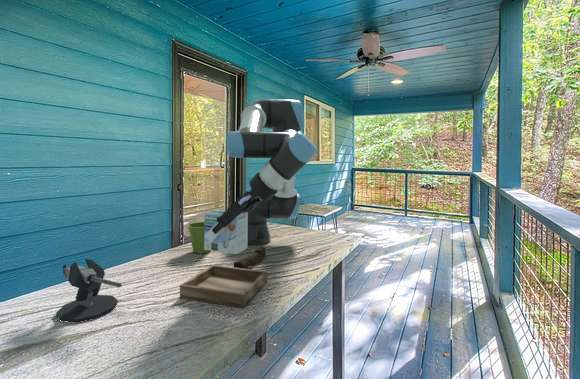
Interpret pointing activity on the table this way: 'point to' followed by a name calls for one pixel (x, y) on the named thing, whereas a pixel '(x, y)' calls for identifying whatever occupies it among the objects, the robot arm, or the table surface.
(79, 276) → the gun turret
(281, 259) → the table surface
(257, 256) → the rusty artillery shell
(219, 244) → the light bulb box
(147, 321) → the table surface
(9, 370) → the table surface
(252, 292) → the walnut tray
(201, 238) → the plant pot
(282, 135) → the robot arm
